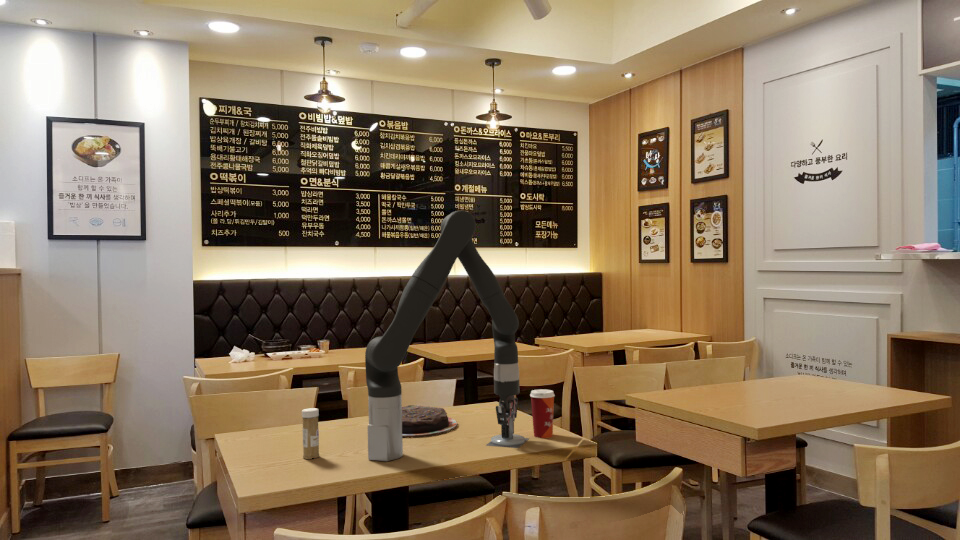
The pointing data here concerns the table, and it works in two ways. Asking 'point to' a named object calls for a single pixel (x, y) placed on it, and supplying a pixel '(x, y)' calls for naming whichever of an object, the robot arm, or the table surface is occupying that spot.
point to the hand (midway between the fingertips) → (507, 435)
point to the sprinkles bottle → (310, 433)
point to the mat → (507, 446)
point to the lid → (511, 441)
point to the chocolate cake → (425, 421)
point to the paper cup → (542, 412)
